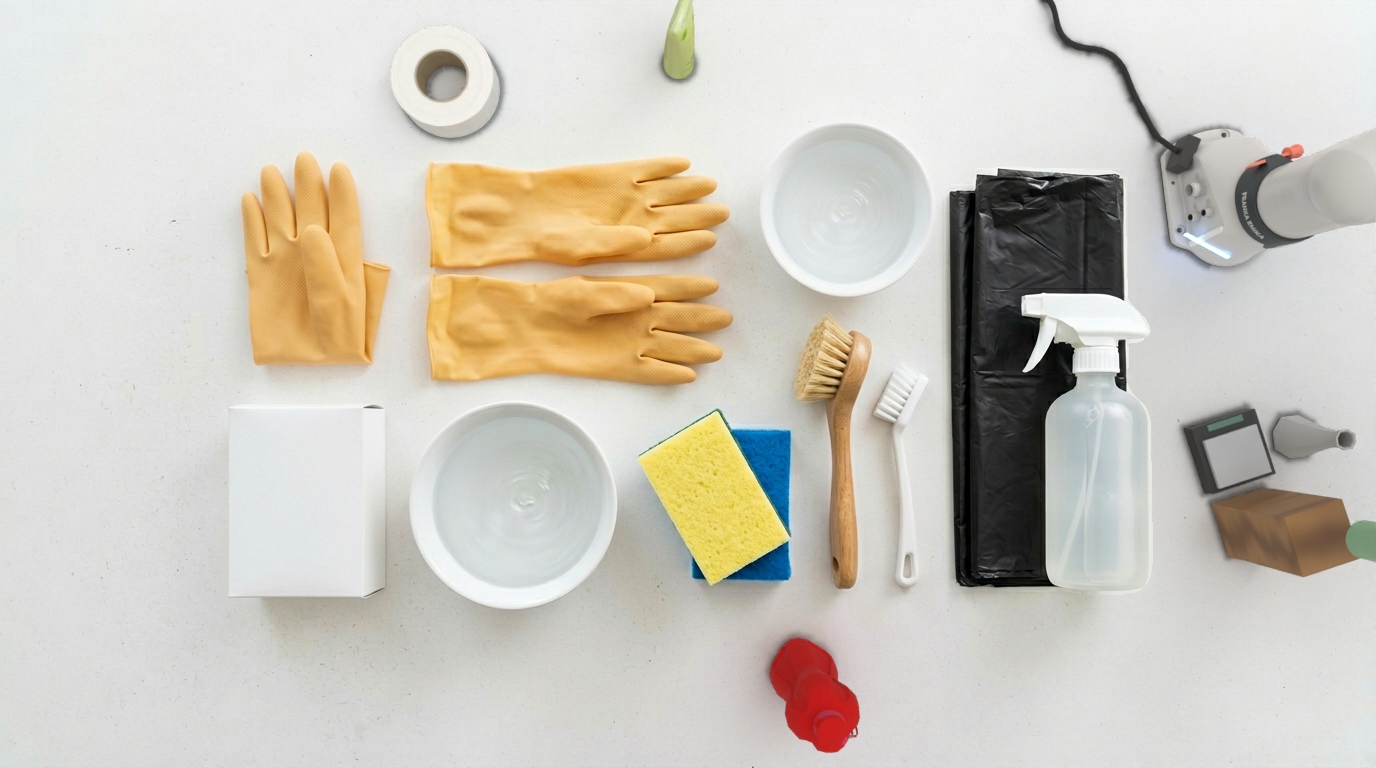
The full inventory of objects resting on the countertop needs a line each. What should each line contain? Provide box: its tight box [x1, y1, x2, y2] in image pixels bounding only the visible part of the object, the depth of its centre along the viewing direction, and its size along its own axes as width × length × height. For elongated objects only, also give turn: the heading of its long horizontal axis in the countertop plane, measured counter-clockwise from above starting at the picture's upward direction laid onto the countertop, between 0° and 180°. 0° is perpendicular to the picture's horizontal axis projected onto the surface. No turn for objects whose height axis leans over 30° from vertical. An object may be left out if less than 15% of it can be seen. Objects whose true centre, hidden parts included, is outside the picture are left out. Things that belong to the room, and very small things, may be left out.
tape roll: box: [389, 24, 501, 139], centre depth 121 cm, size 16×16×6 cm
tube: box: [662, 0, 695, 80], centre depth 115 cm, size 6×5×20 cm
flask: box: [1272, 414, 1357, 459], centre depth 121 cm, size 7×7×10 cm
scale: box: [1183, 408, 1277, 495], centre depth 124 cm, size 11×11×3 cm
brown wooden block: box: [1210, 486, 1361, 578], centre depth 118 cm, size 9×9×15 cm
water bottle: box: [769, 637, 861, 754], centre depth 111 cm, size 9×11×25 cm
